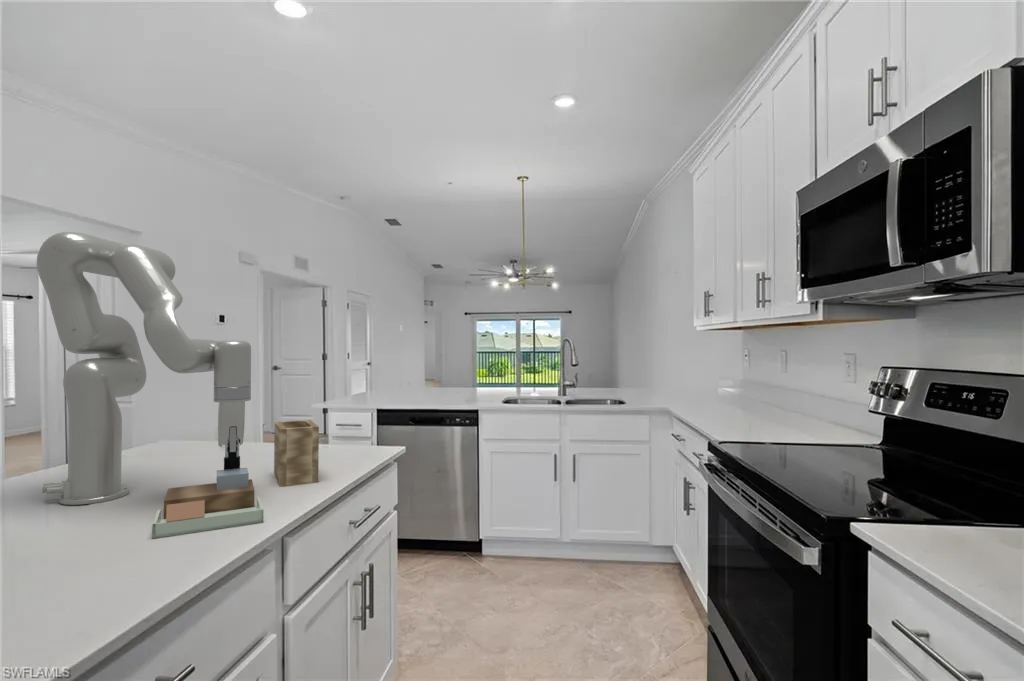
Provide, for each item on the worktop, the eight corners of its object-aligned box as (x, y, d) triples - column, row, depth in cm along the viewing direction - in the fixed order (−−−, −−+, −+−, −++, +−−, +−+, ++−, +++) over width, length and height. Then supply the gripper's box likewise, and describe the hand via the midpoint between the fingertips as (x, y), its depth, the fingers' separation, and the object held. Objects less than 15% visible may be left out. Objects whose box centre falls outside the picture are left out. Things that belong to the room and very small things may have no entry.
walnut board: (163, 521, 103) (164, 500, 103) (167, 507, 111) (168, 488, 111) (254, 508, 110) (254, 489, 110) (251, 496, 119) (251, 479, 119)
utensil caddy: (279, 486, 128) (280, 429, 128) (274, 474, 140) (274, 421, 140) (318, 482, 132) (318, 426, 132) (309, 470, 144) (310, 419, 144)
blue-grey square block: (216, 490, 110) (216, 476, 110) (216, 484, 115) (216, 470, 115) (248, 487, 113) (248, 473, 113) (246, 480, 118) (247, 467, 118)
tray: (152, 538, 93) (152, 524, 93) (157, 522, 102) (157, 509, 102) (263, 522, 102) (263, 509, 102) (259, 508, 110) (259, 497, 111)
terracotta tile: (168, 508, 100) (168, 524, 99) (166, 504, 95) (165, 521, 94) (204, 503, 103) (204, 519, 102) (204, 500, 98) (204, 516, 97)
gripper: (213, 392, 124) (212, 469, 124) (213, 398, 111) (213, 484, 111) (248, 391, 128) (248, 466, 127) (253, 396, 115) (252, 480, 115)
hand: (231, 474), depth 119 cm, fingers closed
